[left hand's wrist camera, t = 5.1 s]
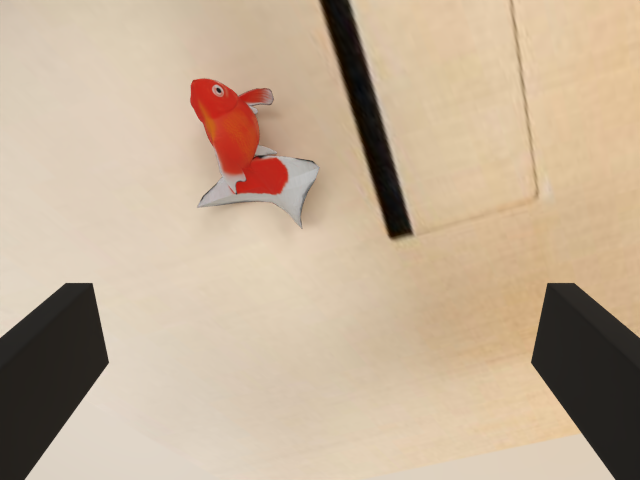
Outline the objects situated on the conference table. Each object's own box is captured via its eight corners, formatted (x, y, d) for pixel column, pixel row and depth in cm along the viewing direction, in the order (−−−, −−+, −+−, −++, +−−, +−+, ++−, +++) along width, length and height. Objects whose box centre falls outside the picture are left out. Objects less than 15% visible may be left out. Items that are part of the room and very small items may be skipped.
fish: (308, 39, 35) (268, 111, 28) (344, 188, 46) (321, 263, 40) (192, 53, 38) (134, 119, 32) (252, 188, 49) (217, 257, 43)
